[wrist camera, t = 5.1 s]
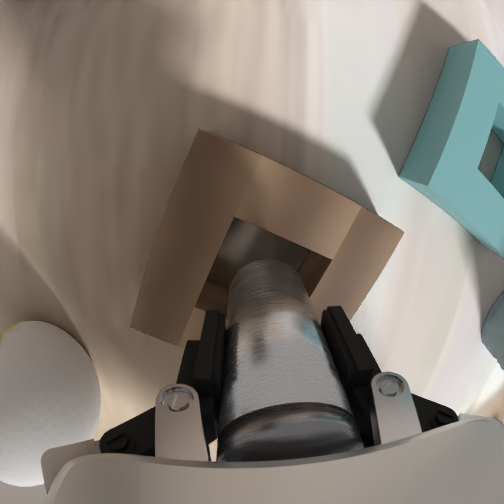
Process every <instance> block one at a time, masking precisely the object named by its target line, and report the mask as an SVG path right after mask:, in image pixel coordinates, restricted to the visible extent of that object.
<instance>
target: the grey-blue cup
mask: <svg viewBox="0 0 504 504" xmlns="http://www.w3.org/2000/svg"><path fill="white" fill-rule="evenodd" d="M481 335H482V342H483V344H484V345H485V347H486V348H487V349H488V350H489V352H490V353H491V354H492V356H493V357H494V358H496V359H497V361H498V363H499V364H500V366H501V368H502V369H503V370H504V292H503V293H502V294H501V295H500V296H499V298H498V299H497V300H496V302H495V303H494V305H493V306H492V308H491V310H490V311H489V313H488V315H487V318H486V320H485V322H484V325H483V329H482V333H481Z"/></svg>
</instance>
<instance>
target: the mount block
mask: <svg viewBox="0 0 504 504" xmlns="http://www.w3.org/2000/svg"><path fill="white" fill-rule="evenodd" d="M234 217H236V218H239V219H241V220H243V221H246V222H248V223H250V224H253V225H255V226H257V227H260V228H262V229H264V230H267V231H269V232H271V233H273V234H276V235H278V236H280V237H283V238H285V239H287V240H289V241H292V242H294V243H296V244H298V245H301V246H303V247H305V248H307V249H310V251H309V253H308V255H307V257H306V258H305V260H304V262H303V264H302V266H301V267H300V269H299V271H298V273H299V275H300V277H301V279H302V281H303V284H304V286H305V288H306V291H307V293H308V296H309V298H310V301H311V303H312V306H313V309H314V311H315V314H316V316H317V319H318V321H319V324H320V325H321V318H322V312H323V310H326V309H327V307H328V306H341V307H342V308H343V310H344V312H345V314H346V316H347V317H348V319H349V321H350V319H351V318H352V317H353V315H354V314H355V312H356V311H357V309H358V308H359V306H360V305H361V303H362V302H363V300H364V299H365V297H366V296H367V294H368V293H369V291H370V289H371V288H372V286H373V285H374V283H375V282H376V280H377V278H378V277H379V275H380V273H381V272H382V270H383V268H384V267H385V265H386V263H387V262H388V260H389V258H390V257H391V255H392V253H393V252H394V250H395V248H396V246H397V245H398V243H399V241H400V239H401V237H402V236H403V234H404V232H403V231H402V230H400V229H399V228H397V227H396V226H394V225H393V224H391V223H389V222H388V221H386V220H385V219H383V218H382V217H380V216H378V215H377V214H375V213H373V212H372V211H370V210H368V209H366V208H365V207H363V206H361V205H359V204H358V203H356V202H354V201H352V200H350V199H349V198H347V197H345V196H343V195H341V194H340V193H338V192H336V191H334V190H332V189H330V188H328V187H326V186H325V185H323V184H321V183H319V182H317V181H315V180H313V179H311V178H309V177H307V176H305V175H303V174H301V173H299V172H297V171H295V170H293V169H291V168H289V167H287V166H285V165H283V164H281V163H278V162H276V161H274V160H272V159H270V158H268V157H266V156H263V155H261V154H259V153H257V152H255V151H252V150H250V149H248V148H246V147H243V146H241V145H239V144H236V143H234V142H232V141H229V140H227V139H224V138H222V137H220V136H217V135H215V134H212V133H210V132H207V131H204V130H200V129H199V130H198V133H197V135H196V137H195V139H194V142H193V144H192V146H191V149H190V151H189V153H188V156H187V158H186V160H185V163H184V165H183V168H182V170H181V173H180V175H179V178H178V180H177V183H176V185H175V188H174V190H173V193H172V196H171V198H170V201H169V204H168V206H167V209H166V212H165V215H164V217H163V220H162V223H161V226H160V229H159V232H158V234H157V237H156V240H155V243H154V246H153V249H152V253H151V256H150V259H149V262H148V265H147V268H146V272H145V275H144V278H143V282H142V285H141V289H140V292H139V296H138V299H137V303H136V306H135V310H134V314H133V318H132V322H131V326H130V327H131V328H134V329H136V330H138V331H141V332H143V333H146V334H148V335H150V336H153V337H155V338H158V339H160V340H163V341H166V342H168V343H171V344H173V345H176V346H179V347H182V348H184V349H185V346H186V343H187V341H188V340H200V338H201V333H202V328H203V323H204V318H205V313H206V310H220V313H225V322H226V321H227V309H228V298H229V289H226V288H224V287H221V286H219V285H216V284H214V283H211V282H209V281H206V279H207V277H208V274H209V272H210V270H211V267H212V265H213V263H214V261H215V258H216V256H217V254H218V252H219V249H220V247H221V245H222V243H223V240H224V238H225V236H226V234H227V231H228V229H229V227H230V225H231V223H232V220H233V218H234Z"/></svg>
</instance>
